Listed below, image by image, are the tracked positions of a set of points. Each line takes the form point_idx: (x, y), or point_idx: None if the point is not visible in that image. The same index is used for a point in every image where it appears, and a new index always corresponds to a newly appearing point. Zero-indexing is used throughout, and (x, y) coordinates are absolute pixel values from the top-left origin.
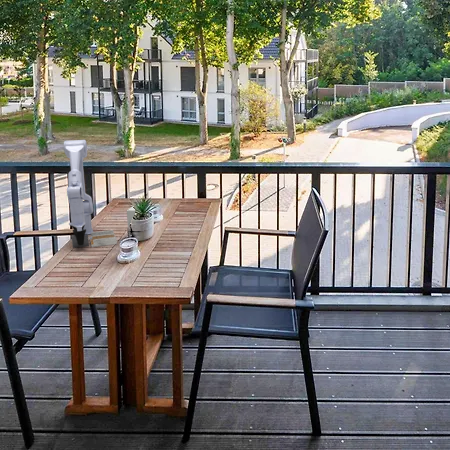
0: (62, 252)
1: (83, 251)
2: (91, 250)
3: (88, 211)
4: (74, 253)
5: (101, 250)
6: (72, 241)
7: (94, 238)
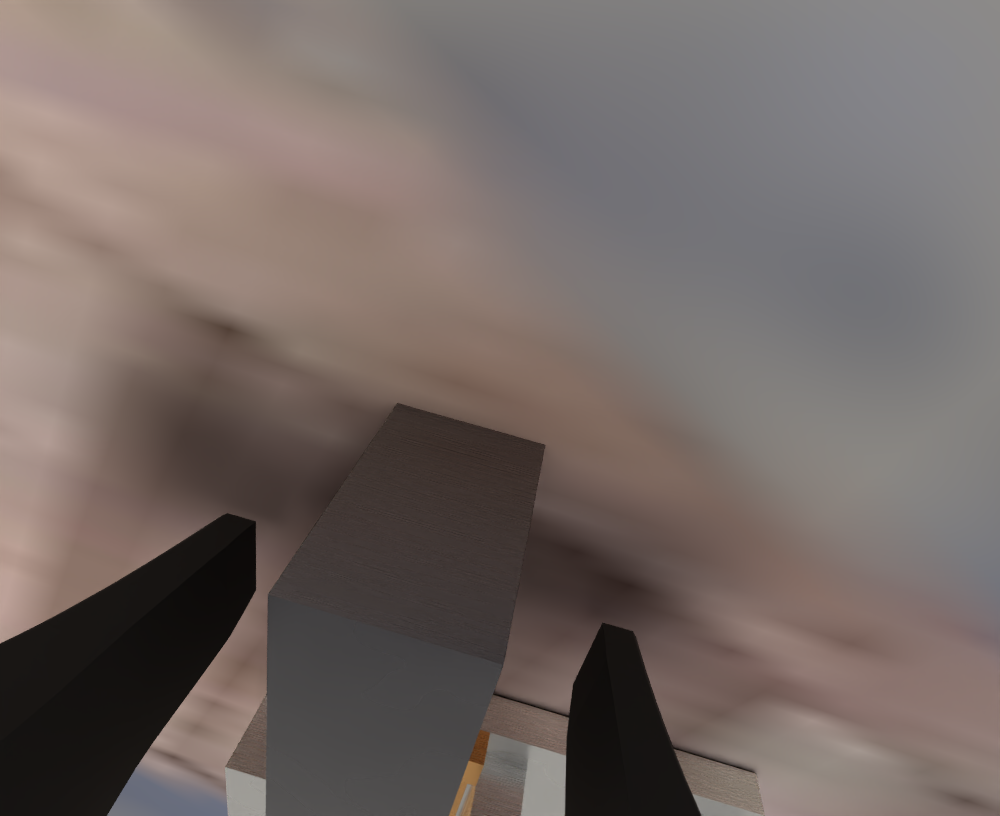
0: (139, 78)
1: (97, 470)
2: (119, 569)
3: None
4: (9, 305)
5: None
6: (332, 503)
7: (465, 811)
